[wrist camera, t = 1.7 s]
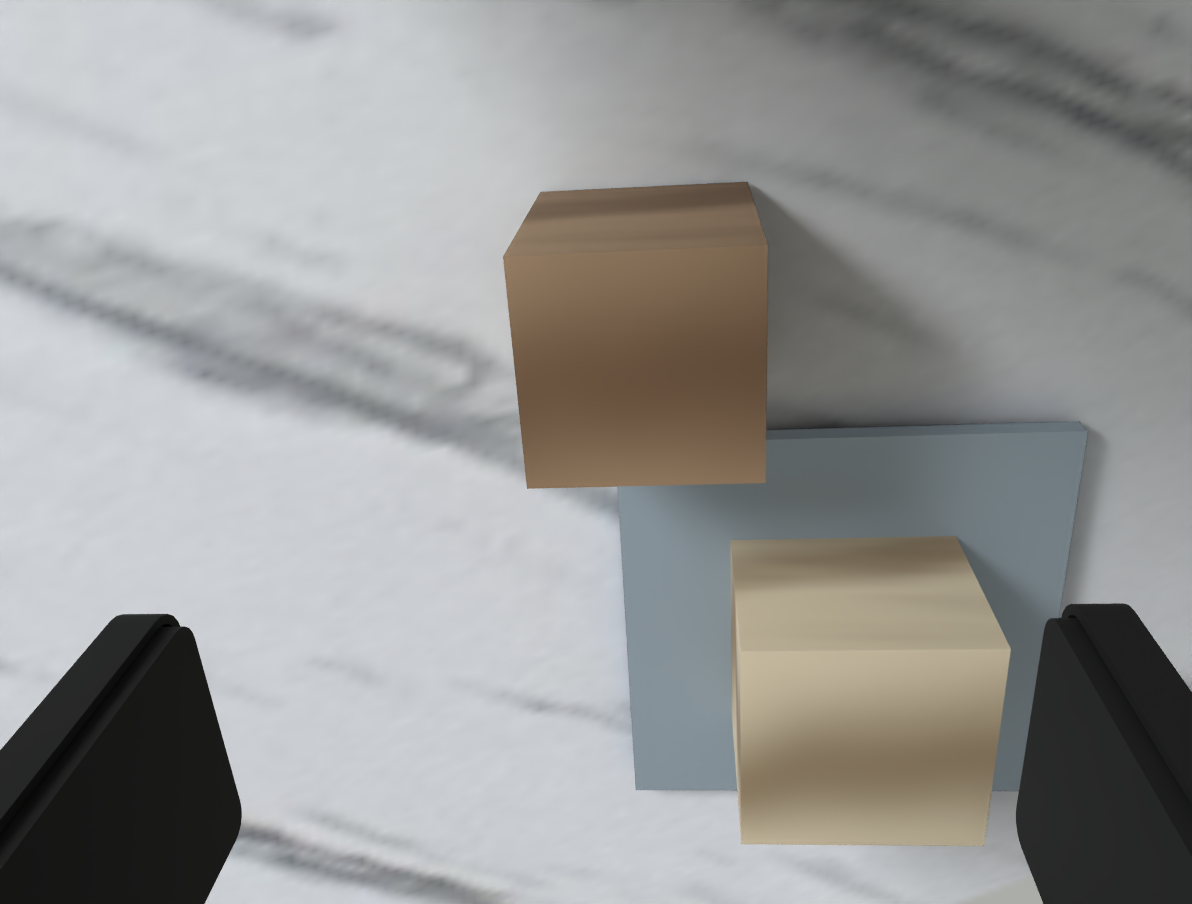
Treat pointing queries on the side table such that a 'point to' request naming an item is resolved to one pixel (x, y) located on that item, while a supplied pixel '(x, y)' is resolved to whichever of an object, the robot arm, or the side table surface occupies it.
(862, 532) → the build plate
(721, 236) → the walnut block
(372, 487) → the side table surface
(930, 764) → the beech block
